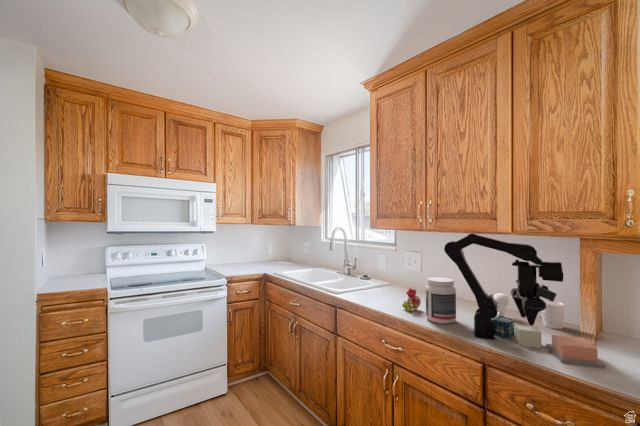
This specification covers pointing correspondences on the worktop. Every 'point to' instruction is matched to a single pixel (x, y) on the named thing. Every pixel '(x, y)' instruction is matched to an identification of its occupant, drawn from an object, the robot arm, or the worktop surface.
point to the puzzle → (504, 327)
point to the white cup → (553, 315)
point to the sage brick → (528, 336)
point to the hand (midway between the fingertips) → (527, 321)
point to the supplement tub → (440, 300)
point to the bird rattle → (412, 300)
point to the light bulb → (501, 303)
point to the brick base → (575, 351)
